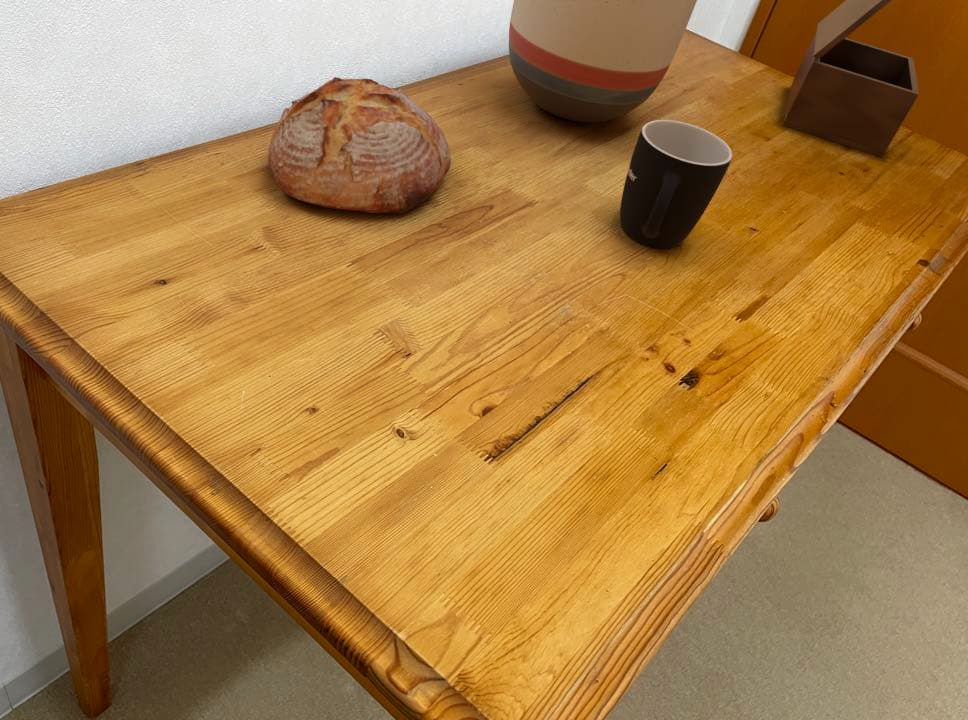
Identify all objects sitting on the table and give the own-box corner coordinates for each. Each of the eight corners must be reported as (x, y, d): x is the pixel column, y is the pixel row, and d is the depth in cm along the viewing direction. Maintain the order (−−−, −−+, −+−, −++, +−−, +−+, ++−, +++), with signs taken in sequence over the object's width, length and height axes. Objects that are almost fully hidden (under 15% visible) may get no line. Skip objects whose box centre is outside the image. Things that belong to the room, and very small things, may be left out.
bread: (229, 178, 83) (225, 75, 76) (362, 127, 95) (369, 35, 89) (354, 246, 76) (362, 140, 70) (480, 182, 89) (496, 87, 82)
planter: (579, 163, 96) (644, -39, 82) (457, 87, 106) (497, -106, 91) (678, 130, 108) (751, -51, 94) (561, 65, 118) (611, -109, 103)
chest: (880, 117, 125) (913, 58, 119) (882, 157, 114) (919, 94, 108) (789, 88, 127) (817, 29, 121) (782, 125, 116) (813, 61, 110)
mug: (617, 199, 92) (650, 110, 85) (697, 227, 90) (738, 139, 83) (592, 250, 83) (626, 155, 76) (680, 282, 82) (723, 189, 75)
